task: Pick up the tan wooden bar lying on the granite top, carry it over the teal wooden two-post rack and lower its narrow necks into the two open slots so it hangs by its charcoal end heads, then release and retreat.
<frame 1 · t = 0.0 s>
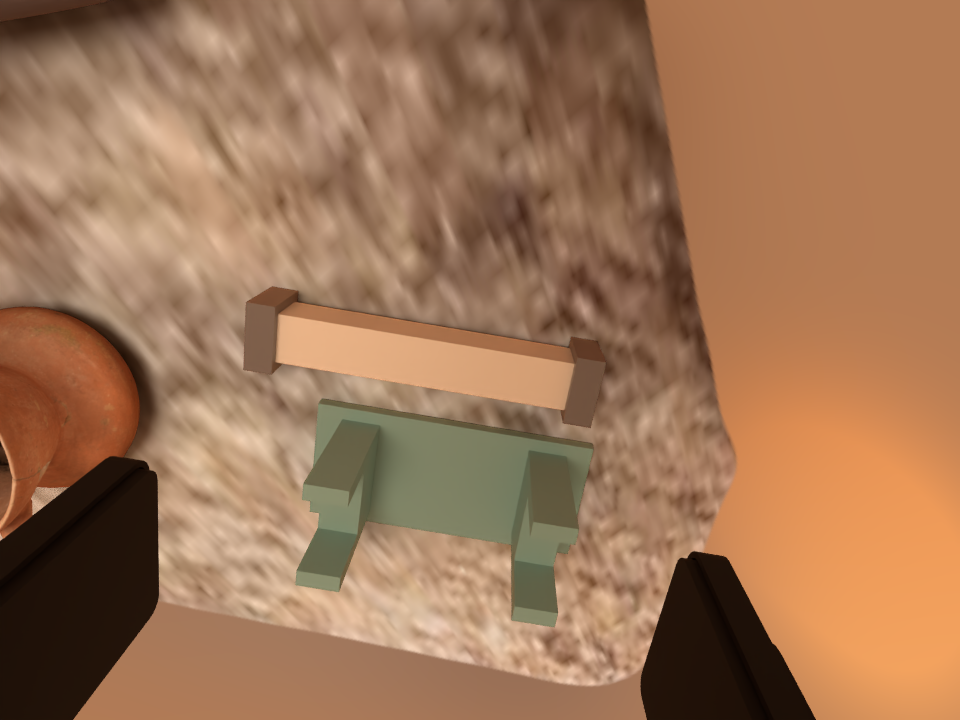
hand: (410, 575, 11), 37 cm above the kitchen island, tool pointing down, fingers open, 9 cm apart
ceramic jug: (65, 377, 51), on the kitchen island
rack: (448, 475, 52), on the kitchen island
tan wooden bar: (430, 344, 49), on the kitchen island
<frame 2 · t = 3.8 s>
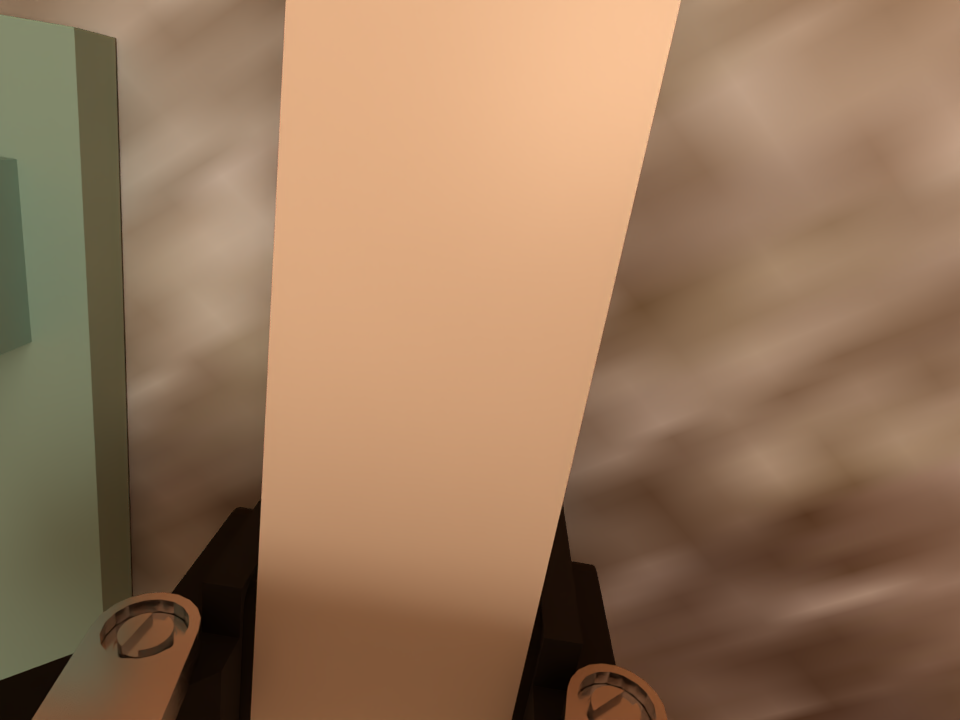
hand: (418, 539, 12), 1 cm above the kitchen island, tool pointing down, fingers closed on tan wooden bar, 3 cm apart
tan wooden bar: (423, 521, 13), on the kitchen island, touching gripper
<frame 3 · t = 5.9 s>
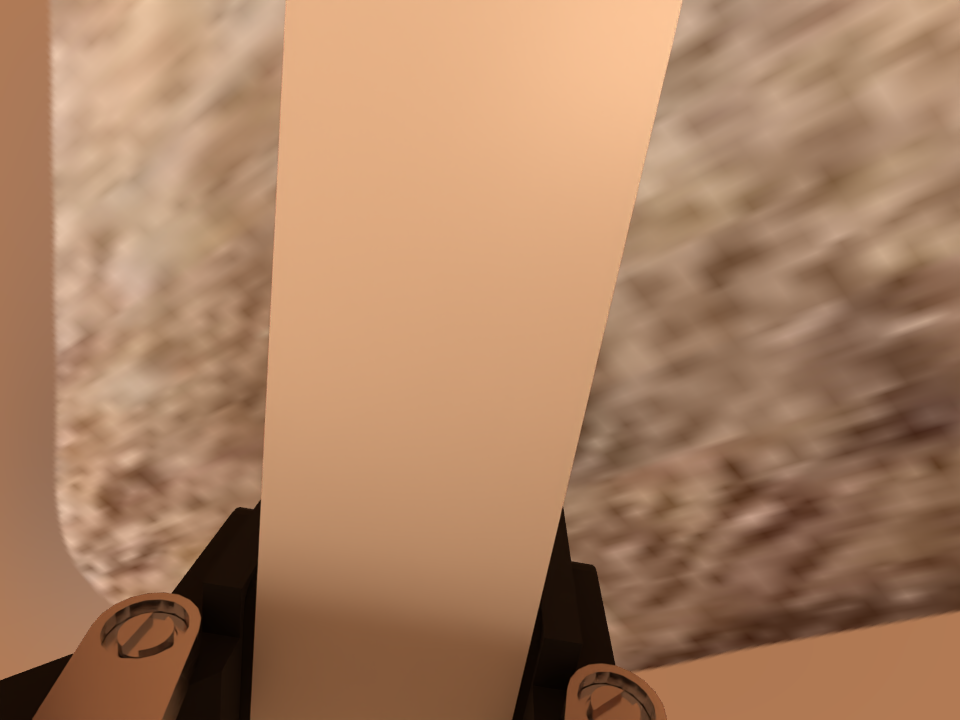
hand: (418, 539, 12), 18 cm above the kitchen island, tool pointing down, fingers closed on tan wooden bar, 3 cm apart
tan wooden bar: (423, 521, 13), point 17 cm above the kitchen island, touching gripper
when the fingers open (7 cm above the kitchen island, at t = 8.1 s): tan wooden bar stays where it is, resting on rack.
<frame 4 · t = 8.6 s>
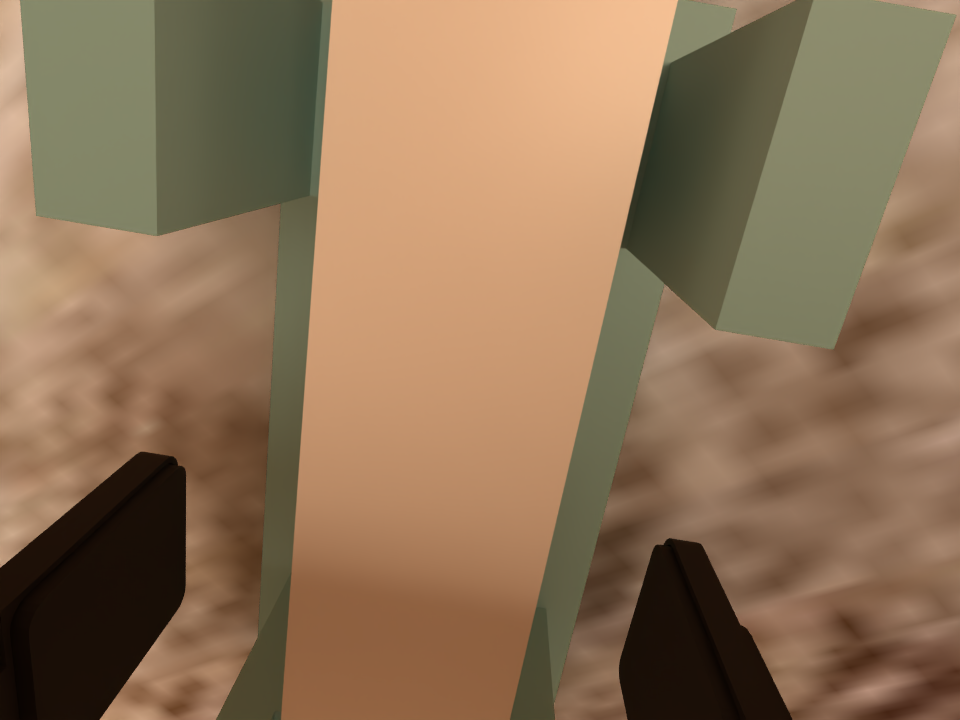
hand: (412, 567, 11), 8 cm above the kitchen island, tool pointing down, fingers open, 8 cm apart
rack: (450, 401, 19), on the kitchen island
tan wooden bar: (436, 497, 14), point 5 cm above the kitchen island, touching rack
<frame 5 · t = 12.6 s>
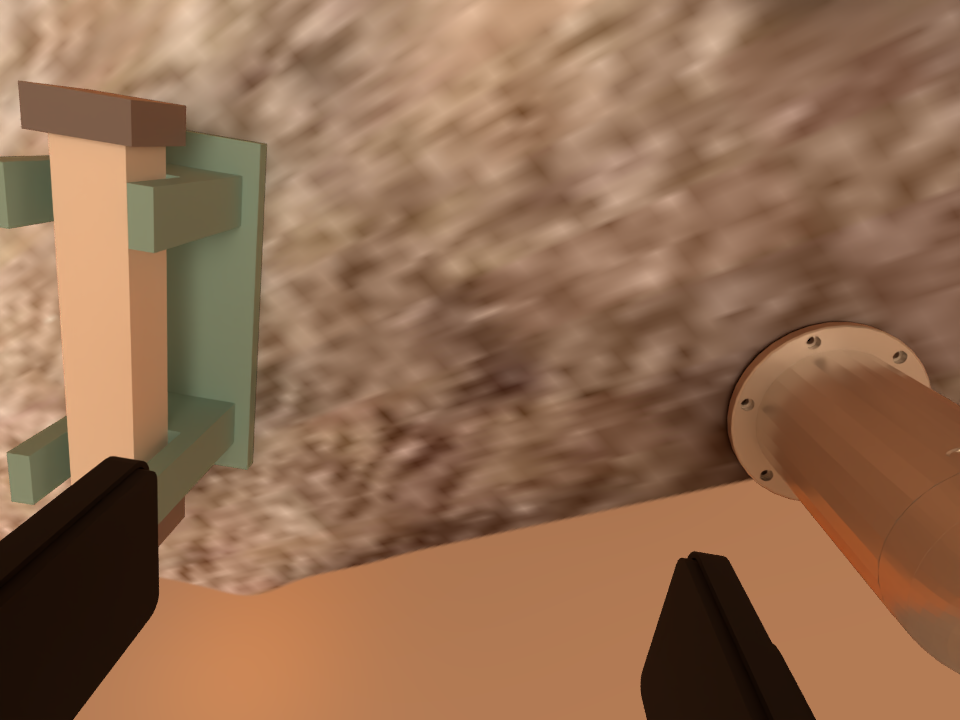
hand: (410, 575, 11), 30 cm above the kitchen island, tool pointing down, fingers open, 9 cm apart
rack: (184, 304, 42), on the kitchen island
tan wooden bar: (142, 327, 37), point 5 cm above the kitchen island, touching rack
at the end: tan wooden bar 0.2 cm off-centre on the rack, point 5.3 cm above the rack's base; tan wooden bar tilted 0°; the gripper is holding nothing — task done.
